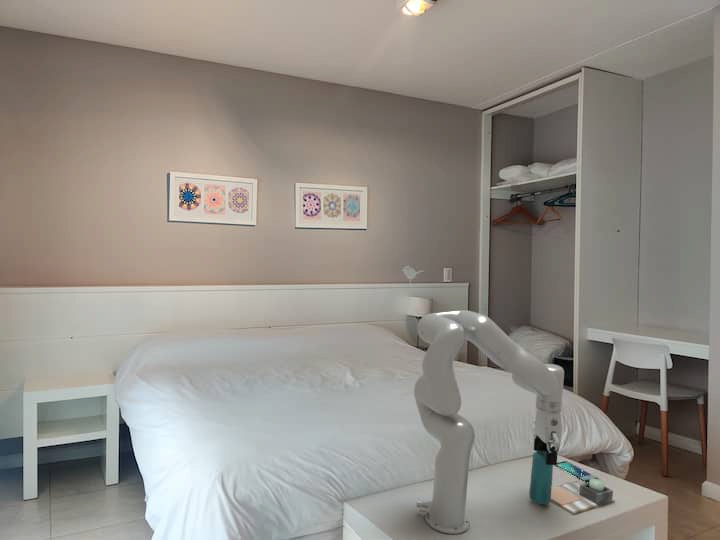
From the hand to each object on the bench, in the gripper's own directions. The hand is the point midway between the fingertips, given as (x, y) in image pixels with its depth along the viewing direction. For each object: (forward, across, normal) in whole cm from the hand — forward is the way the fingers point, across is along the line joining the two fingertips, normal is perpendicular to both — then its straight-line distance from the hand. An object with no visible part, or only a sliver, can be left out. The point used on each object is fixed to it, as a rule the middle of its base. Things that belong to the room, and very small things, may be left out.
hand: (544, 457), depth 162 cm
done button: (+13, +4, -19) cm, 23 cm away
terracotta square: (+15, +4, -8) cm, 17 cm away
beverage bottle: (+15, 0, +1) cm, 15 cm away
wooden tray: (+16, +4, -13) cm, 21 cm away
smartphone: (+16, +23, -22) cm, 36 cm away
